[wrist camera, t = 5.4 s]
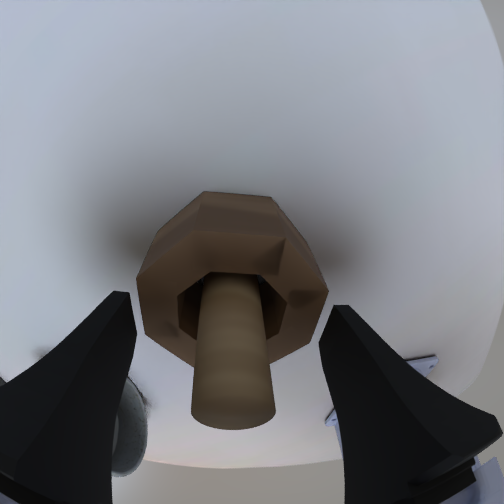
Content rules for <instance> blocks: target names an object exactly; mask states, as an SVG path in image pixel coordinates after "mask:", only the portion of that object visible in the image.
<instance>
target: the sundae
mask: <svg viewBox="0 0 504 504" xmlns="http://www.w3.org/2000/svg"><path fill="white" fill-rule="evenodd" d="M4 384H6V382H5V381H4V380H3V379H2V378H1V377H0V386H2V385H4Z"/></svg>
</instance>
